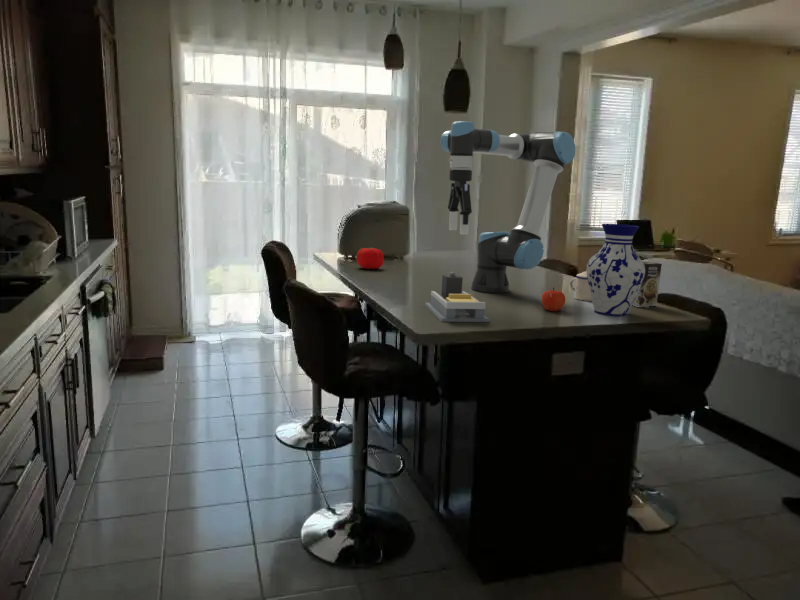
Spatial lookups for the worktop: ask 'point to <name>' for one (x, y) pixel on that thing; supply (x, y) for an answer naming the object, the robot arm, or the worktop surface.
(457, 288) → the plug
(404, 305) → the worktop surface
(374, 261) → the tomato
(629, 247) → the vase
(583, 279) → the teacup with lid
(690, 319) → the worktop surface
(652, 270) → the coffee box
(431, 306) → the socket
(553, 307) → the apple
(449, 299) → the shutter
